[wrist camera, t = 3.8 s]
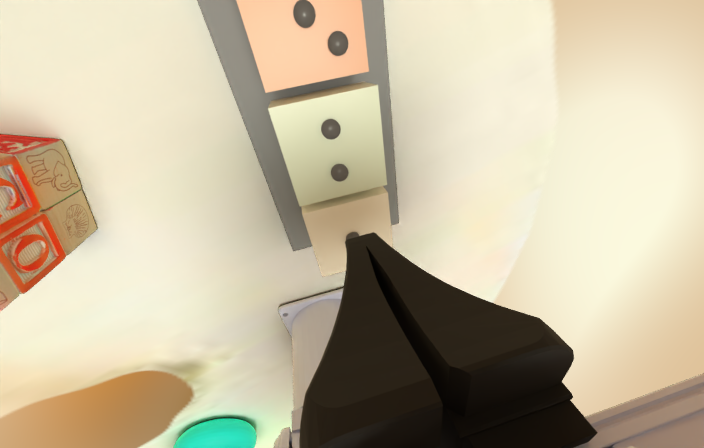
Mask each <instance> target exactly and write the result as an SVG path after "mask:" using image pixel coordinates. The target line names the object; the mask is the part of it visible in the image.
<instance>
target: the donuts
mask: <svg viewBox="0 0 704 448" xmlns="http://www.w3.org/2000/svg"><path fill="white" fill-rule="evenodd" d="M255 444H256V431H255V429H254V427H253V426H252V425H251V424H250V423H248V422H246V421H244V420H240V419H234V418H222V419H214V420H209V421H205V422H202V423H199V424H197V425H195V426H193V427H191V428H189V429H188V430H187V431H185V432H184V433H183V434H182V435H181V436H180V437H179V438H178V440H177V441H176V443H175V445H174V447H173V448H254V447H255Z"/></svg>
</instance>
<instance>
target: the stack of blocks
mask: <svg viewBox="0 0 704 448" xmlns="http://www.w3.org/2000/svg"><path fill="white" fill-rule="evenodd" d="M96 230H97V227H96V224H95V222H94V219H93V216H92V214H91V211H90V209H89V206H88V204H87V201H86V199H85V196H84V194H83V191H82V190H81V184H80V181H79V179H78V177H77V174H76V171H75V169H74V167H73V164H72V162H71V159H70V156H69V154H68V152H67V150H66V148H65V146H64V144H63V142H62V140H60V139H50V138H38V137H27V136H15V135H2V134H0V312H1V311H2V310H3V309H4V308H5V307H7V306H8V305H9V304H10V303H11V302H12V301H13V300H14V299H16V298H17V297H18V296H19V294H25V293H26V292H27V291H28V290H30V289H31V288H32V287H33V286H34V285H35V284H37V283H38V282H39V281H40V280H41V279H42V278H43V277H45V276H46V275H47V274H48V273H49V272H50V271H51V270H53V269H54V268H55V267H56V266H57V265H58V264H59V263H60V262H62V261H63V260H64V258H65V257H66V256H67V255H69V254H70V253H71V252H72V251H73V250H75V249H76V248H77V247H78V246H79V245H80V244H81V243H82V242H84V241H85V240H86V239H87V238H88V237H89V236H90V235H91V234H92V233H93V232H95V231H96Z"/></svg>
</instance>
